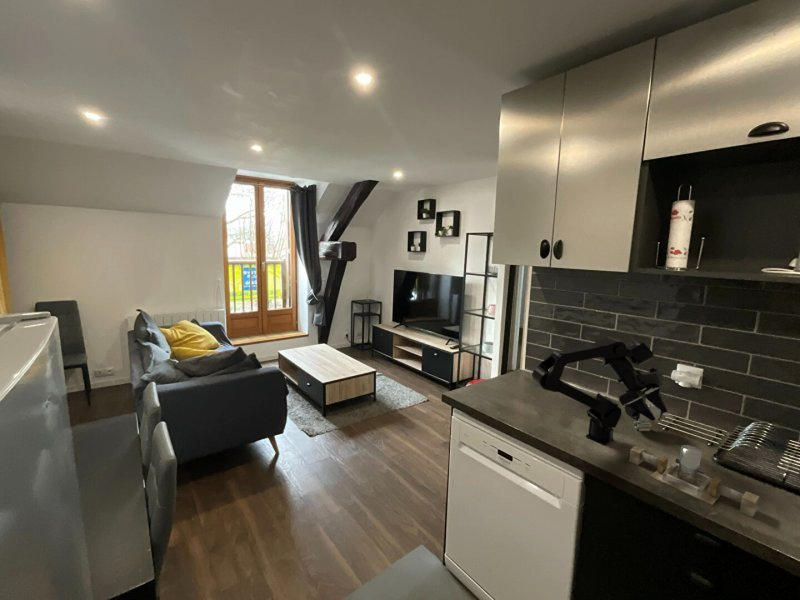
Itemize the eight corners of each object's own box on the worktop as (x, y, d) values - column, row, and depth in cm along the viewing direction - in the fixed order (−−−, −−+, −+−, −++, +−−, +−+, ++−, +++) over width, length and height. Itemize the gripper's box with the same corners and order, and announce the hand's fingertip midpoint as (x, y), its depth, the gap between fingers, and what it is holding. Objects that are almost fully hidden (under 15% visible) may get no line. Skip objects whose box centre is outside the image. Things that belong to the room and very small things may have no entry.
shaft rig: (624, 464, 109) (626, 451, 109) (639, 453, 115) (640, 441, 114) (749, 522, 87) (752, 506, 86) (759, 505, 92) (762, 490, 91)
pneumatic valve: (622, 426, 132) (625, 396, 130) (652, 425, 133) (655, 395, 131) (632, 434, 127) (636, 402, 125) (663, 433, 128) (668, 401, 126)
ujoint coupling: (670, 478, 102) (675, 446, 100) (676, 473, 104) (681, 442, 103) (699, 492, 96) (704, 458, 95) (705, 486, 99) (710, 453, 97)
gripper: (633, 365, 108) (672, 414, 101) (658, 355, 119) (695, 398, 111) (604, 382, 116) (638, 428, 109) (630, 371, 126) (663, 412, 119)
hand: (660, 416), depth 112 cm, fingers open, 9 cm apart
